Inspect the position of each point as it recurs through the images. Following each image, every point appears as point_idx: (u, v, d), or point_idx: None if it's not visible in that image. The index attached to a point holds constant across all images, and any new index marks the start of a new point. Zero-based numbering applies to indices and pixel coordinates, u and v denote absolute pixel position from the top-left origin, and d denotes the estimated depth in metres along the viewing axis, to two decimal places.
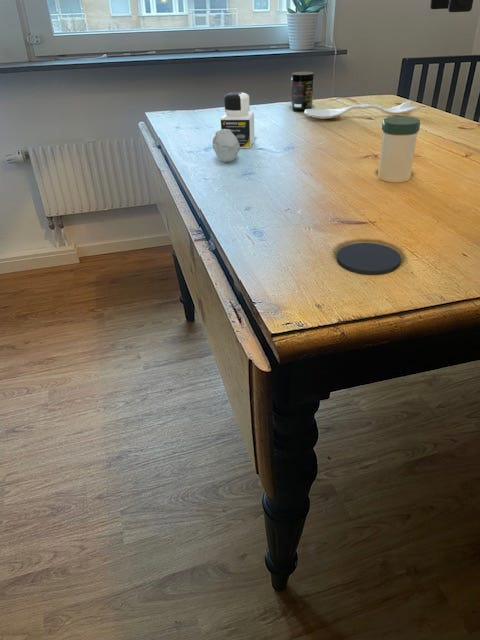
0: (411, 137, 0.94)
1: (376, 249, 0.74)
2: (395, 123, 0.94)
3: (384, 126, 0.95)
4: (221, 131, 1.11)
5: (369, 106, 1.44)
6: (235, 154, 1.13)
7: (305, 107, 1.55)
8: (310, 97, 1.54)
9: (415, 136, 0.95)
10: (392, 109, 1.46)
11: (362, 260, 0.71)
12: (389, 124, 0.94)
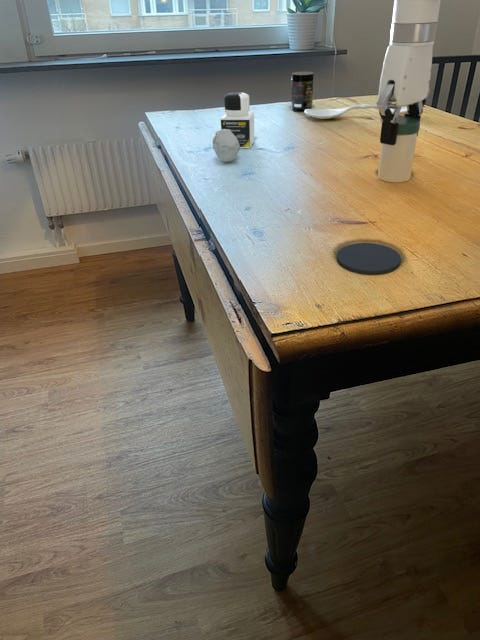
0: (411, 137, 0.94)
1: (376, 249, 0.74)
2: None
3: None
4: (221, 131, 1.11)
5: (369, 106, 1.44)
6: (235, 154, 1.13)
7: (305, 107, 1.55)
8: (310, 97, 1.54)
9: (415, 136, 0.95)
10: (392, 109, 1.46)
11: (362, 260, 0.71)
12: None
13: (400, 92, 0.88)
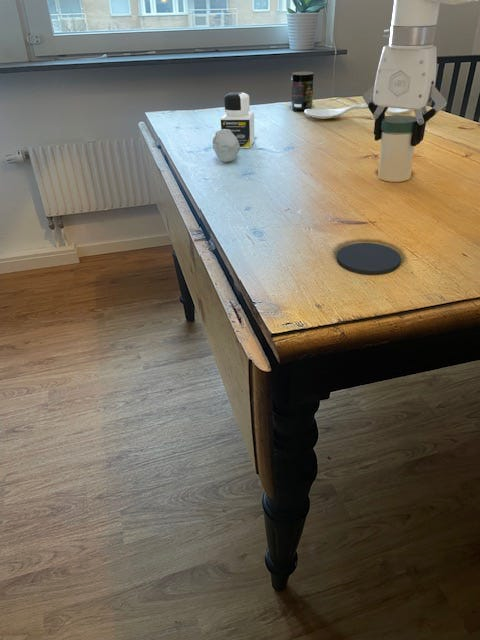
0: (409, 136, 0.94)
1: (376, 249, 0.74)
2: (415, 119, 0.94)
3: (409, 126, 0.93)
4: (221, 131, 1.11)
5: None
6: (235, 154, 1.13)
7: (305, 107, 1.55)
8: (310, 97, 1.54)
9: None
10: (392, 109, 1.46)
11: (362, 260, 0.71)
12: (416, 122, 0.93)
13: None
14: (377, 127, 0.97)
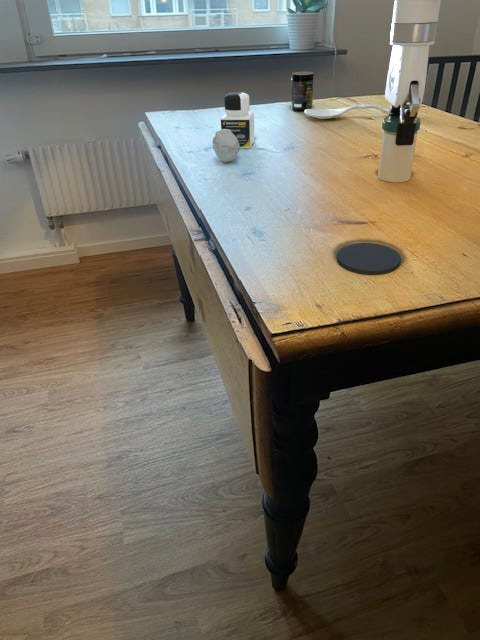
0: None
1: (376, 249, 0.74)
2: None
3: (419, 124, 0.94)
4: (221, 131, 1.11)
5: (369, 106, 1.44)
6: (235, 154, 1.13)
7: (305, 107, 1.55)
8: (310, 97, 1.54)
9: (415, 136, 0.95)
10: None
11: (362, 260, 0.71)
12: None
13: (423, 91, 0.88)
14: None
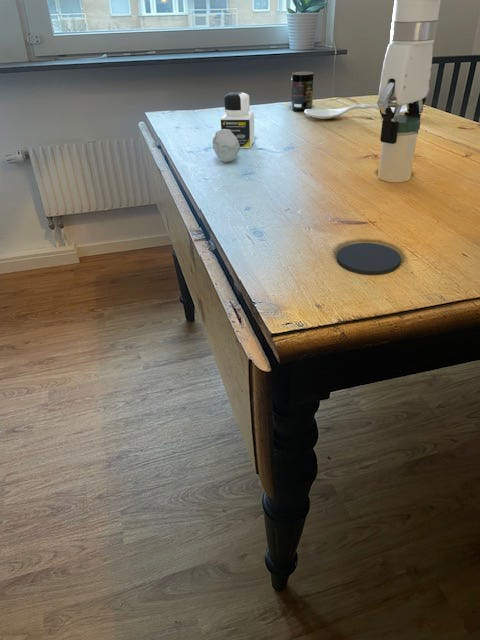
0: (411, 137, 0.94)
1: (376, 249, 0.74)
2: (402, 115, 0.97)
3: None
4: (221, 131, 1.11)
5: (369, 106, 1.44)
6: (235, 154, 1.13)
7: (305, 107, 1.55)
8: (310, 97, 1.54)
9: (415, 136, 0.95)
10: (392, 109, 1.46)
11: (362, 260, 0.71)
12: None
13: (400, 91, 0.88)
14: None
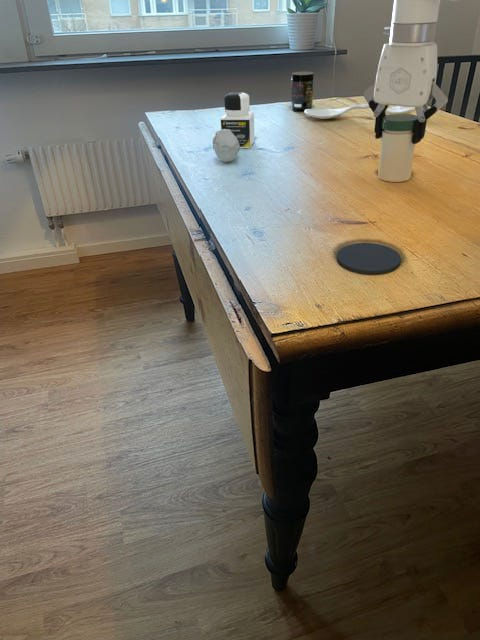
0: (410, 136, 0.94)
1: (376, 249, 0.74)
2: (385, 117, 0.96)
3: None
4: (221, 131, 1.11)
5: None
6: (235, 154, 1.13)
7: (305, 107, 1.55)
8: (310, 97, 1.54)
9: None
10: (392, 109, 1.46)
11: (362, 260, 0.71)
12: None
13: None
14: (378, 125, 0.97)
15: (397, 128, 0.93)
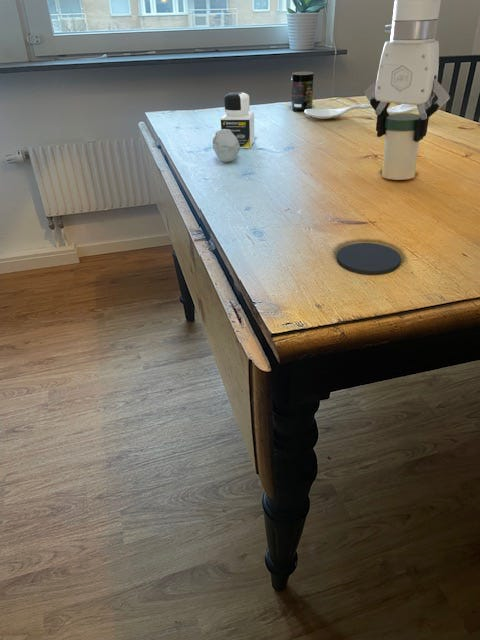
0: (414, 133, 0.94)
1: (376, 249, 0.74)
2: (407, 119, 0.93)
3: (394, 124, 0.94)
4: (221, 131, 1.11)
5: (369, 106, 1.44)
6: (235, 154, 1.13)
7: (305, 107, 1.55)
8: (310, 97, 1.54)
9: None
10: (392, 109, 1.46)
11: (362, 260, 0.71)
12: (403, 121, 0.93)
13: None
14: (379, 123, 0.97)
15: None
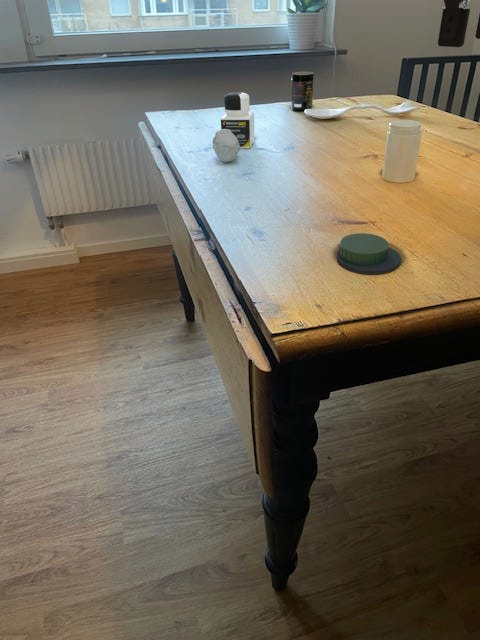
0: (415, 137, 0.94)
1: None
2: (384, 244, 0.71)
3: (381, 256, 0.70)
4: (221, 131, 1.11)
5: (369, 106, 1.44)
6: (235, 154, 1.13)
7: (305, 107, 1.55)
8: (310, 97, 1.54)
9: (420, 136, 0.95)
10: (392, 109, 1.46)
11: None
12: (387, 248, 0.70)
13: None
14: (466, 23, 0.60)
15: None
